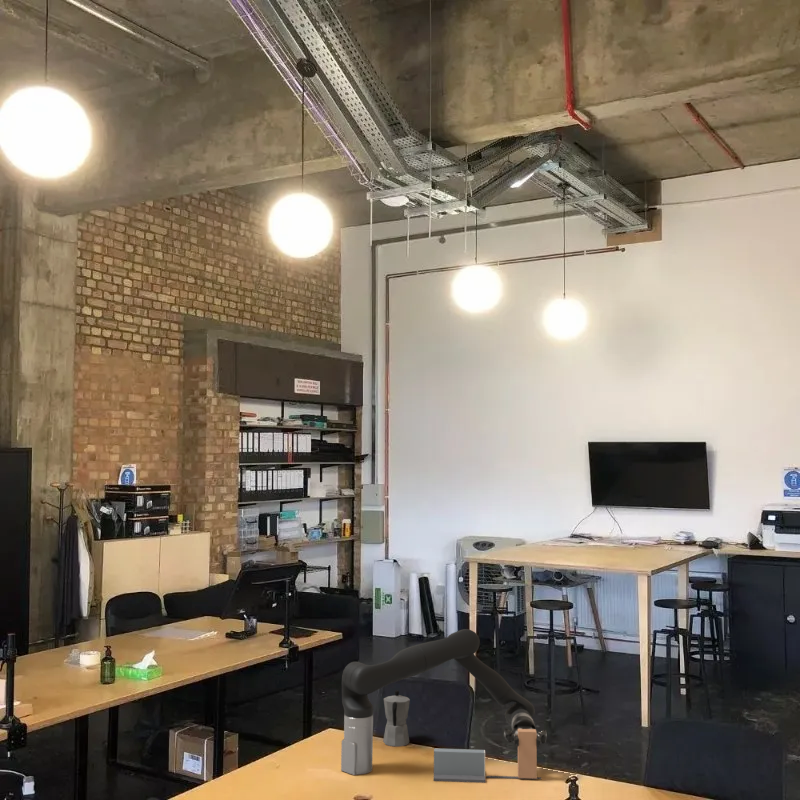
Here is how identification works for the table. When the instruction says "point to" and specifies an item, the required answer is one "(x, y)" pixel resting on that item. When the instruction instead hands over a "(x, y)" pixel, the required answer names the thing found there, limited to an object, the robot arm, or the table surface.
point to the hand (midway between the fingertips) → (527, 743)
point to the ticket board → (462, 766)
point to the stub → (527, 753)
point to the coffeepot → (396, 720)
